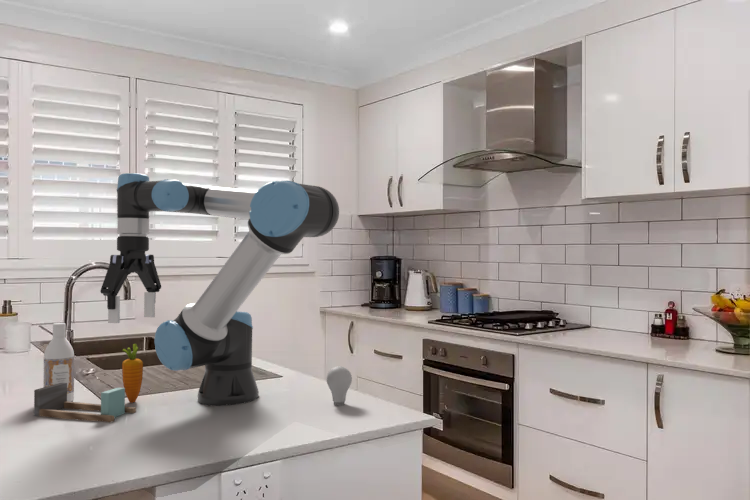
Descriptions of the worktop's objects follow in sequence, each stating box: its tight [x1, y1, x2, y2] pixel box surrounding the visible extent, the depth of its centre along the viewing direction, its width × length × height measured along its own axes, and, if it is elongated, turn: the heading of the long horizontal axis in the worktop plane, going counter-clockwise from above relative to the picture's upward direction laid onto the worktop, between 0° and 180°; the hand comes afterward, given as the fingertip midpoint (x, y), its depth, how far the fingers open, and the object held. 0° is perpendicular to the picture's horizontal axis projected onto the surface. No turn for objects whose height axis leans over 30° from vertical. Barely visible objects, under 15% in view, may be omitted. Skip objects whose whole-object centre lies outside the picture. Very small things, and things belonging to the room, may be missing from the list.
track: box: [33, 383, 137, 423], centre depth 148 cm, size 22×8×6 cm, turn 73°
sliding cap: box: [100, 387, 126, 418], centre depth 146 cm, size 2×6×6 cm, turn 163°
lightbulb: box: [326, 365, 353, 407], centre depth 152 cm, size 6×6×11 cm
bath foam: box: [42, 322, 75, 402], centre depth 160 cm, size 7×7×20 cm
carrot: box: [121, 343, 144, 404], centre depth 159 cm, size 5×5×15 cm
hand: (132, 320), depth 159 cm, fingers open, 13 cm apart
